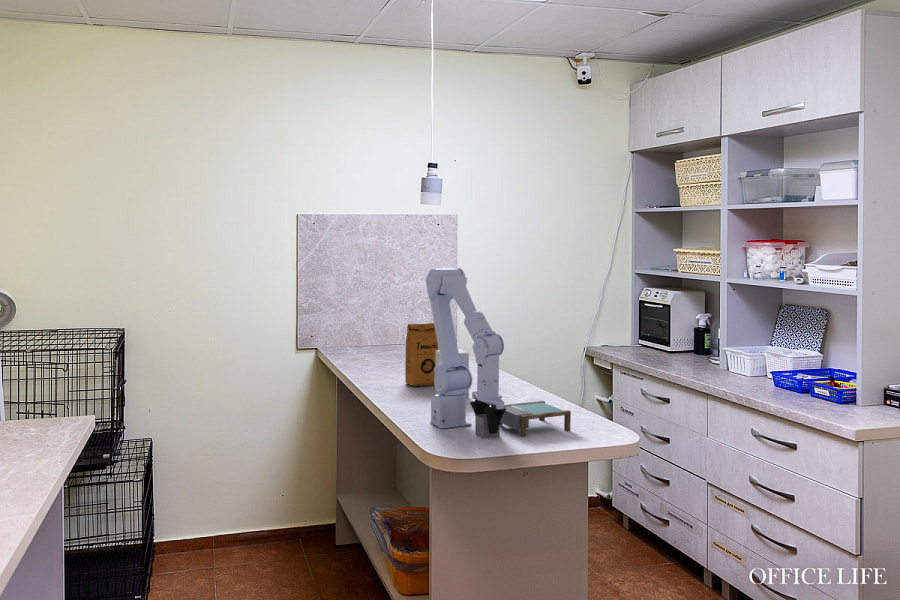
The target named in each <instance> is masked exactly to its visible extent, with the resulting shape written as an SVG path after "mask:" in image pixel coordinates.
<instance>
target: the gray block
mask: <svg viewBox="0 0 900 600" xmlns="http://www.w3.org/2000/svg"><path fill="white" fill-rule="evenodd" d="M474 426H475V430H474V432H475V436H477V437H479V438H480V439H491V438H499V437H500V435H501V433H500V432H501V426H500V424H499V428H498V432H497V433H493V434H490V433H489V429H488V420H487V415H486V414H478V415H476V417H475V425H474Z"/></svg>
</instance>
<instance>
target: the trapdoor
mask: <svg viewBox="0 0 900 600" xmlns="http://www.w3.org/2000/svg"><path fill="white" fill-rule="evenodd" d="M505 408H506V411H505V412H504V414H503V416H502V418H501V421H500V423H502V425H505V426H507V427H509V428H511V429H513V430H516V431H517V430H519V431H520V416H521V415H530V414H539V413H548V412H557V411H565V410H564V409H562V408H558V407H556V406H553V405H550V404H547V403H546V402H545V403H534V404H525V405H515V406H513V405H512V406H507V407H505ZM528 429H530V419H529V420H527V426H526V430H528Z"/></svg>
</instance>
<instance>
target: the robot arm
mask: <svg viewBox="0 0 900 600" xmlns="http://www.w3.org/2000/svg"><path fill="white" fill-rule="evenodd" d="M467 283H468V278H467V276H466V275H465V272H464V270H463V269H462V268H461V267H455V268H454V267H453V268H434V267H433V268H431V269H429V271H428V273H427V276H426V278H425V285H426V290H427V296H428V299H429V301H430V302H429V303H430V308H431V313H432V319H433V323H434V325H435V331H436V336H437V342H438V347H439V353H440V358H441V361H440V362H439V363H438V364H437V365H436V366H435V368H434V373H435V376H434V385H433V386H434V388H435V390H436V389H437V391H438V393H440V394H437V395H436V394H433V395H432V397H431V402H430V421H429V423H431V425H435V426H436V427H439V428H440V429H449V428H456V427H457V428H458V427H466V426H472V422H469V421H467V419H466V418H467V417H466V416H467V401H466V400H467V398H466V393H467V392H468V389H469V390H470V388H471V387H472V385H473V375H472V372H471V370H470V367H469V368H468V364H467V362H465V361H464V360H463V359H461V358H460V357H459V352H458V349H459V347H458V344H457V337H456V332H455V331H456V330H455V327H454V326H455V325H454V320H453V315H452V309H451V305H450V304H451V301H452V299H453V300H454V301H455V303H456V304H457V306H458V308H459V309H460V310H461V312H462V313H463V315H464V316H465V317H464V322H463V324H464V325H465V328H466V330H467V331H468V333H469V335H470V336H471V339H472V341H473V345H472V350H473V354H474V357H475V363H476V364H477V372H476V373H477V376H476V377H477V382H476V390H475V391H474V390H473V391H472V392H471V398H472V400H473V401H470V402H469V404H470V407H471V408H472V411H473V413H474V415H475V416H474V417H475V418H476V415H478V414H486V415H487V420H488V429H489V433H490V434H493V433H497V432H498V428H499V424H500V421H501V418H502V416H503V414H504V412H505V411H506V408H505V407H504V405H505V401H504V400H503V395H502V394H499V391H500V390H499V389H500V387H499V386H500V383H499V381H500V356H501V355H502V354H503V352H504V350H505V349H504V348H505V344H504V343H505V342H504V339H503V337H502V336H501V335H500V334H499V333H496V331H494V330H492V327H491V326H490V324H489V322H488V320H487V319H486V316H485V315H484V313H483V312H481V311H479V310H477V308H476V305H475V304H474V302H473V300H472V297H471V295H470V292H469V290H468V288H467ZM446 369H454V370H446Z"/></svg>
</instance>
